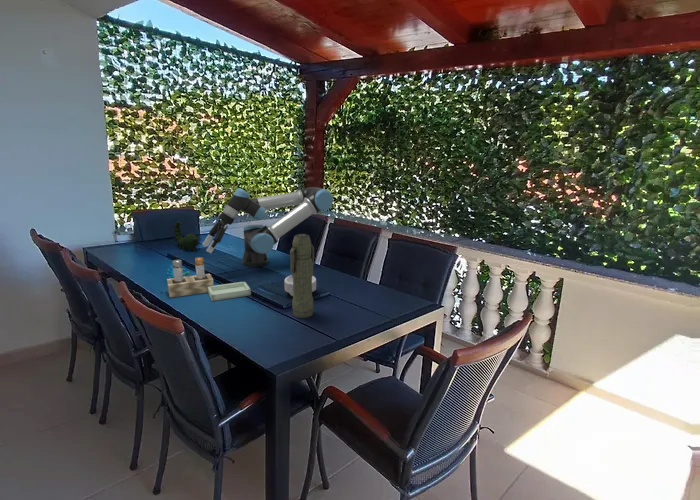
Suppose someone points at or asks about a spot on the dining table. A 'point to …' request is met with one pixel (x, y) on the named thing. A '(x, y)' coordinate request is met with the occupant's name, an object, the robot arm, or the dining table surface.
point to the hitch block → (189, 286)
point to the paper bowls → (289, 284)
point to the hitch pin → (200, 268)
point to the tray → (228, 291)
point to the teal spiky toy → (173, 272)
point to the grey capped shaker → (178, 271)
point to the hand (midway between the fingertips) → (206, 248)
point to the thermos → (302, 275)
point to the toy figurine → (185, 238)
